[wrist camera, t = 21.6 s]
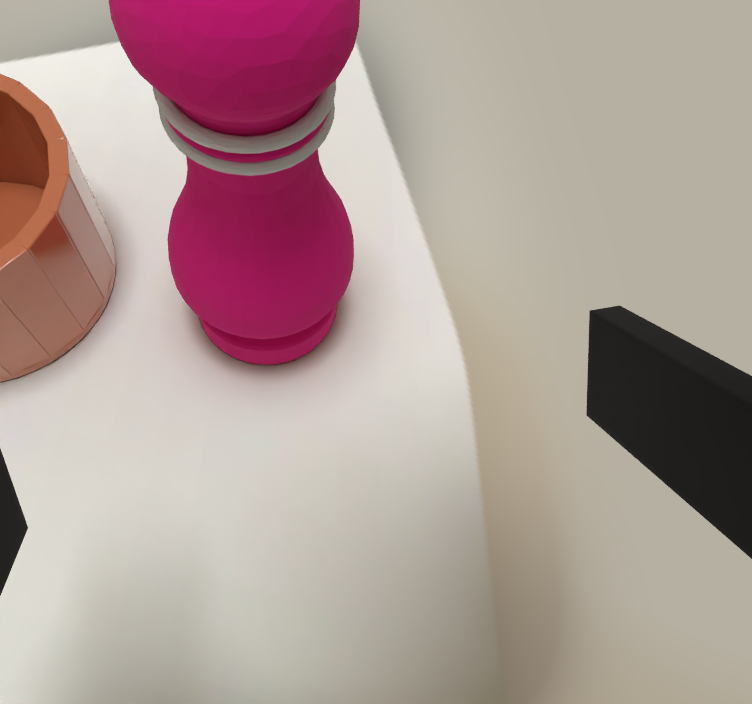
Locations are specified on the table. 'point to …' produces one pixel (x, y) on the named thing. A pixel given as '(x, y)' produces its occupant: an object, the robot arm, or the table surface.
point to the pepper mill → (251, 161)
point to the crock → (45, 238)
